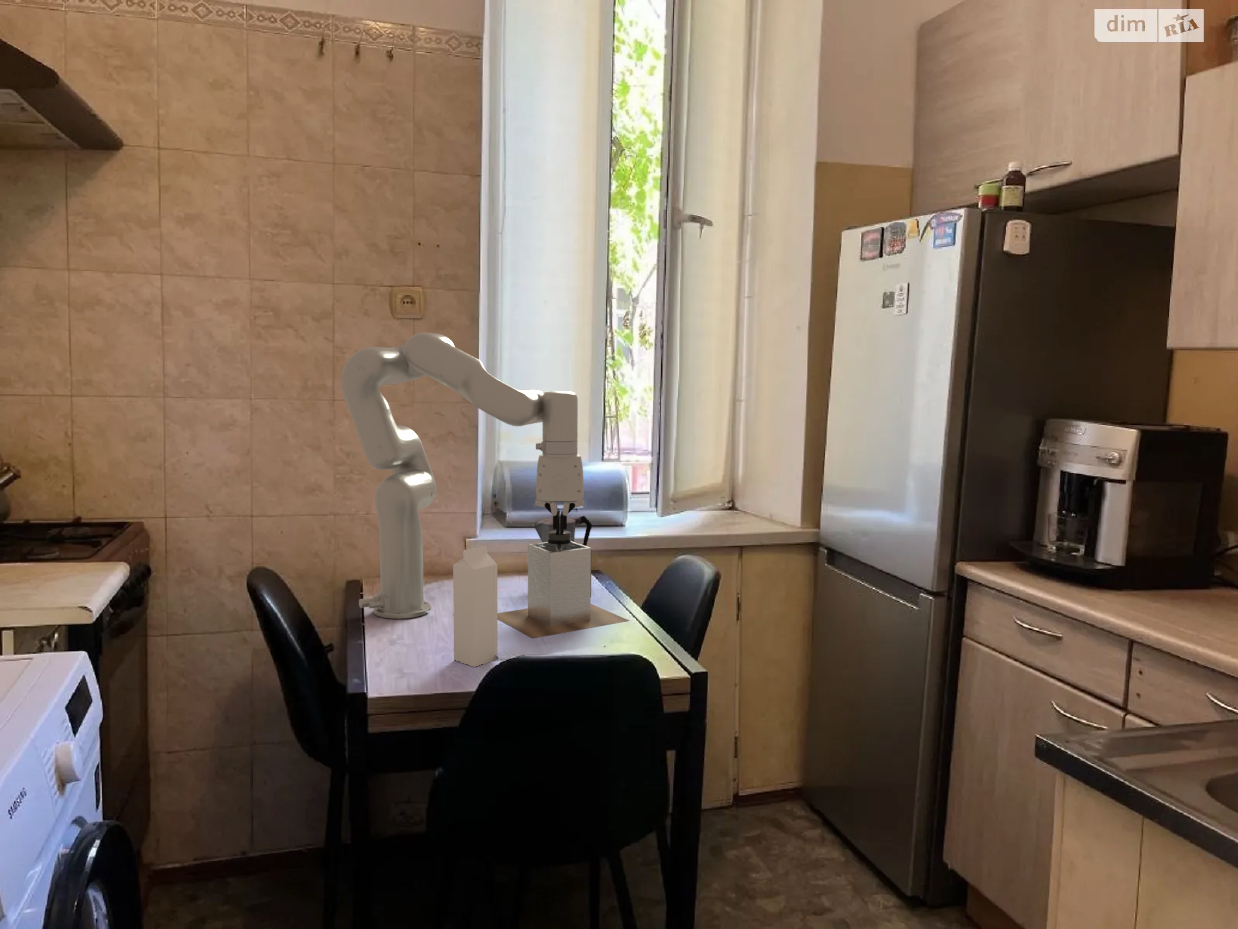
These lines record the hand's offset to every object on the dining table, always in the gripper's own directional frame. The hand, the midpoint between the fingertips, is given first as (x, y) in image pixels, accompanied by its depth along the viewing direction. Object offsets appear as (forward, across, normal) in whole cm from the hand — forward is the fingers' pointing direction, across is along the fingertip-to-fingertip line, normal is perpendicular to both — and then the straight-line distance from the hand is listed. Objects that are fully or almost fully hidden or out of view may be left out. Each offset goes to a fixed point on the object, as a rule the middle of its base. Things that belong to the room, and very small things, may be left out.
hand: (559, 532), depth 199 cm
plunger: (+13, 0, 0) cm, 13 cm away
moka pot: (+20, 0, +31) cm, 37 cm away
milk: (+20, -15, -25) cm, 36 cm away
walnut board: (+20, 0, 0) cm, 20 cm away
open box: (+19, +1, +1) cm, 19 cm away
